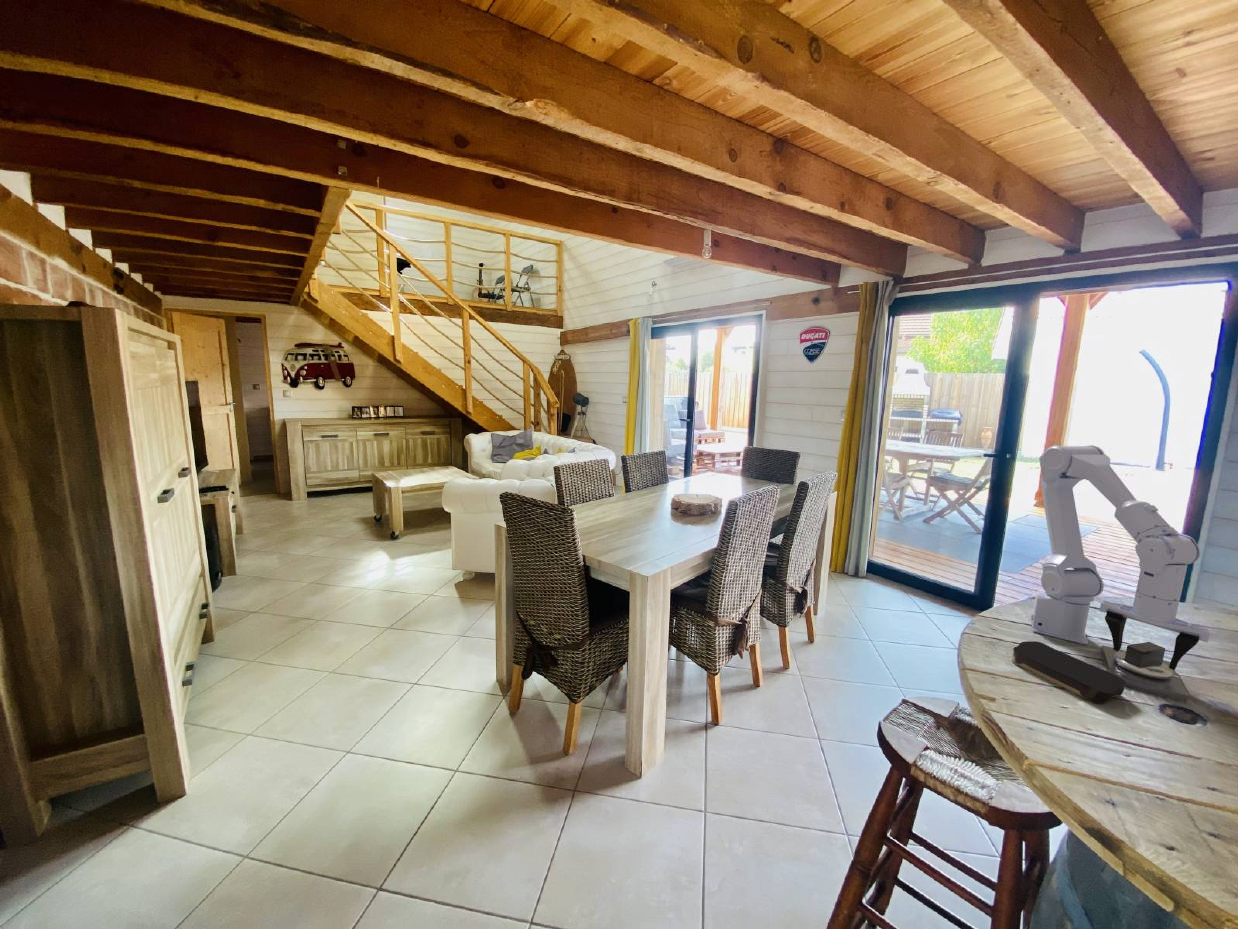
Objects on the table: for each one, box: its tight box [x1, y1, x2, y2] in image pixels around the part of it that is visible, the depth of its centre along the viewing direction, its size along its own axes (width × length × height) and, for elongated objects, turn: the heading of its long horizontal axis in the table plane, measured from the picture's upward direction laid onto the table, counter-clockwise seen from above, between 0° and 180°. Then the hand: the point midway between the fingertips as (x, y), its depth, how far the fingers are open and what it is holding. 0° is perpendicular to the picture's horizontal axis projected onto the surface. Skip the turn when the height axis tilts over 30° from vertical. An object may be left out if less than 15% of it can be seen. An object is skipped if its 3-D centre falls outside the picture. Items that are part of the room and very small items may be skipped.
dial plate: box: [1100, 644, 1190, 704], centre depth 96 cm, size 10×14×2 cm
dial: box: [1114, 641, 1173, 679], centre depth 96 cm, size 8×8×4 cm
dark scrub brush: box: [1011, 640, 1126, 704], centre depth 95 cm, size 16×8×4 cm, turn 19°
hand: (1143, 658), depth 96 cm, fingers open, 7 cm apart
